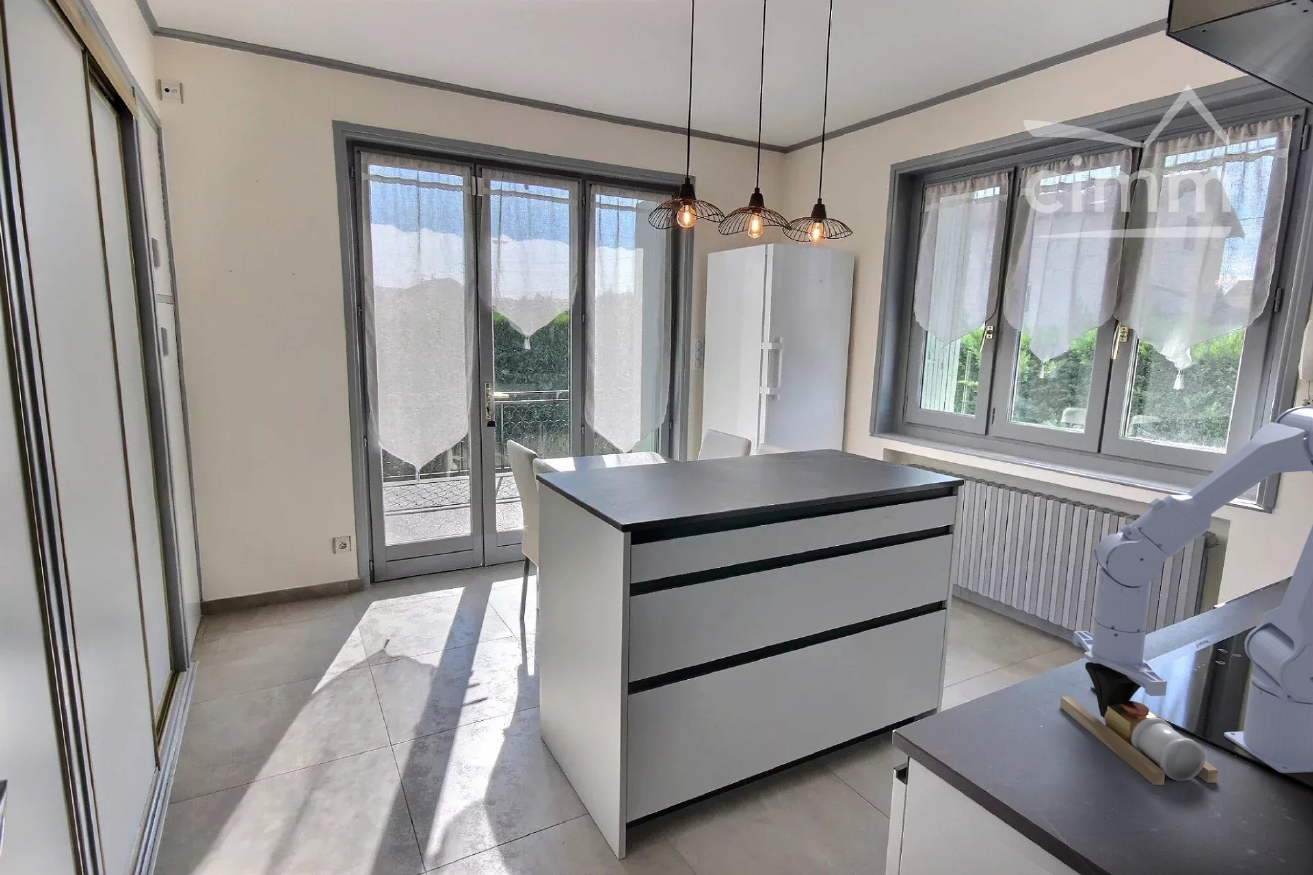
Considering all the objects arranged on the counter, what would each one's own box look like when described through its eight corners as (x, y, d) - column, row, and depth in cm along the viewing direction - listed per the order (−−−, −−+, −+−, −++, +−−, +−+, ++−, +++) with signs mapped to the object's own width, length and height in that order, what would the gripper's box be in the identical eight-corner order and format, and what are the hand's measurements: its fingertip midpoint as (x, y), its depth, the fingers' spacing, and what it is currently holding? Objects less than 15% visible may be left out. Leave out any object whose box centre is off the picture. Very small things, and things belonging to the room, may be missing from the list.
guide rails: (1112, 704, 96) (1113, 694, 96) (1216, 782, 79) (1218, 769, 79) (1060, 706, 95) (1061, 696, 95) (1154, 785, 79) (1155, 772, 78)
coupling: (1129, 755, 84) (1133, 717, 83) (1168, 754, 84) (1172, 716, 84) (1161, 781, 79) (1165, 741, 78) (1202, 779, 80) (1207, 739, 79)
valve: (1101, 730, 90) (1105, 696, 89) (1132, 729, 90) (1136, 695, 89) (1131, 754, 84) (1135, 718, 84) (1163, 753, 85) (1168, 717, 84)
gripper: (1055, 603, 96) (1048, 690, 98) (1132, 649, 82) (1121, 750, 84) (1102, 601, 96) (1094, 689, 98) (1187, 647, 82) (1175, 748, 84)
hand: (1110, 717), depth 91 cm, fingers closed
